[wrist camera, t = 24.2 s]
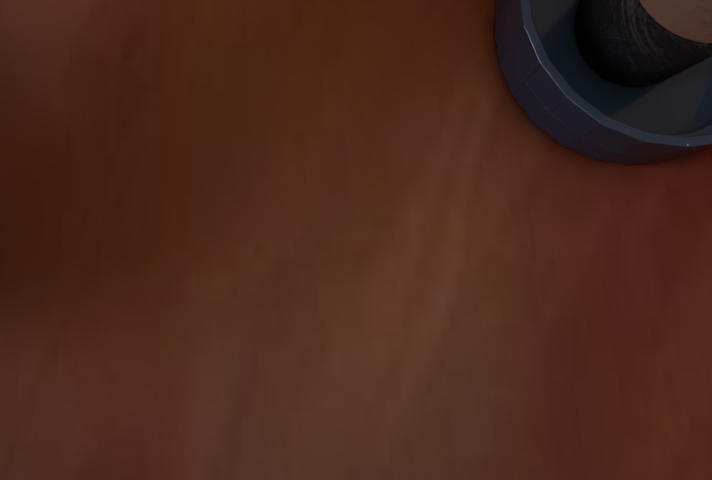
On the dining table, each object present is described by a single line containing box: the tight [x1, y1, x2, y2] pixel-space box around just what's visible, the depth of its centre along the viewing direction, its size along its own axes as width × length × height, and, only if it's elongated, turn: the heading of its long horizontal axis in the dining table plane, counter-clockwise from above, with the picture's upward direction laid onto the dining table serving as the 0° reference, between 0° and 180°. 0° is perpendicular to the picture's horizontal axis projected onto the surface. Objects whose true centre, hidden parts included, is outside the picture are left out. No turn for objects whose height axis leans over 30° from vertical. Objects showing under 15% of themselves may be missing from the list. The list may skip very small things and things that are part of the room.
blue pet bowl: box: [494, 0, 712, 165], centre depth 35 cm, size 16×16×7 cm
